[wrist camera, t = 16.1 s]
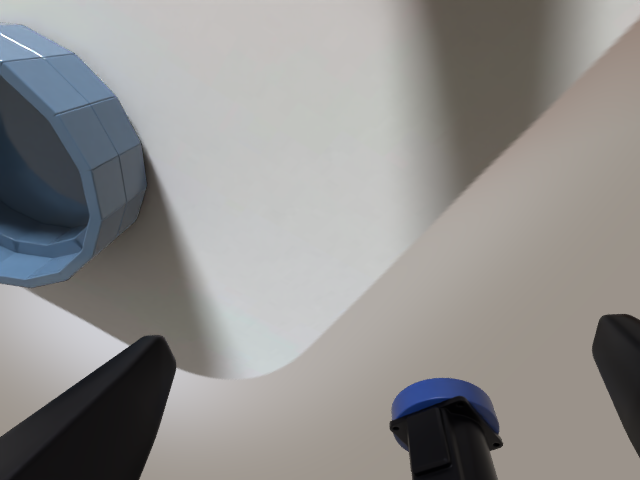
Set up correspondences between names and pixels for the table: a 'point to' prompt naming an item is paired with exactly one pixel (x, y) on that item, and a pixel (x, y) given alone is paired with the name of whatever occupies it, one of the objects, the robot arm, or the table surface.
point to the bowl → (60, 162)
